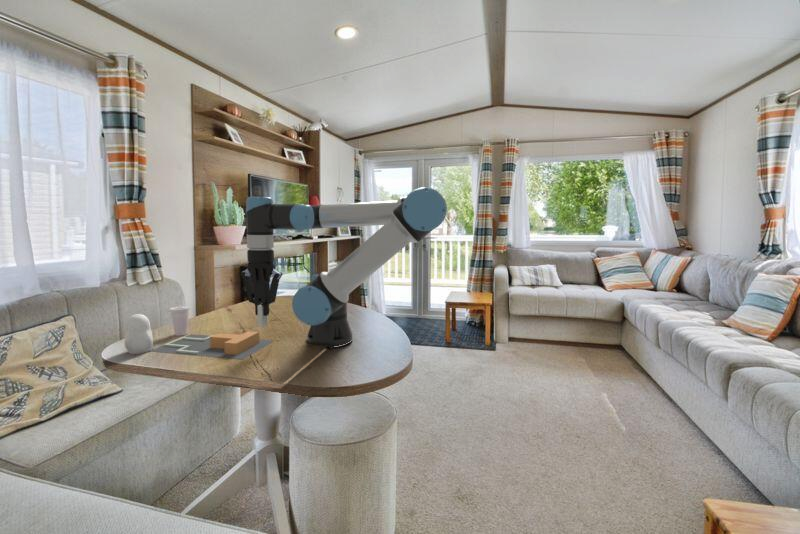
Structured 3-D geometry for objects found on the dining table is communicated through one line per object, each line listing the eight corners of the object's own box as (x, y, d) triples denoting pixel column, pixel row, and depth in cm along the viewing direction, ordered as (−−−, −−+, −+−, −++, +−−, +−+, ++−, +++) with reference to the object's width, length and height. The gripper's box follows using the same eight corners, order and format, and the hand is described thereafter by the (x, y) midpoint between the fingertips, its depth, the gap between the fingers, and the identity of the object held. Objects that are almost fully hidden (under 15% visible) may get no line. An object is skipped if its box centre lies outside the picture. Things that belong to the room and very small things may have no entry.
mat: (275, 343, 127) (275, 340, 127) (242, 362, 109) (242, 359, 109) (191, 337, 133) (191, 334, 133) (148, 354, 116) (148, 351, 115)
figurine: (124, 356, 114) (120, 317, 112) (128, 349, 120) (125, 312, 119) (152, 353, 117) (149, 315, 115) (154, 345, 124) (152, 309, 122)
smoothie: (182, 337, 133) (179, 298, 131) (166, 336, 134) (163, 297, 132) (195, 332, 139) (193, 294, 137) (180, 331, 140) (177, 293, 138)
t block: (259, 342, 125) (258, 332, 124) (236, 354, 113) (236, 343, 113) (226, 339, 127) (226, 329, 127) (201, 351, 115) (200, 340, 115)
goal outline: (231, 338, 129) (230, 336, 129) (197, 354, 113) (197, 352, 113) (191, 335, 132) (191, 333, 132) (153, 350, 116) (153, 348, 116)
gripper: (286, 248, 116) (288, 323, 119) (248, 247, 119) (250, 321, 122) (274, 250, 109) (275, 330, 112) (233, 249, 112) (236, 327, 114)
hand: (262, 325), depth 117 cm, fingers closed
